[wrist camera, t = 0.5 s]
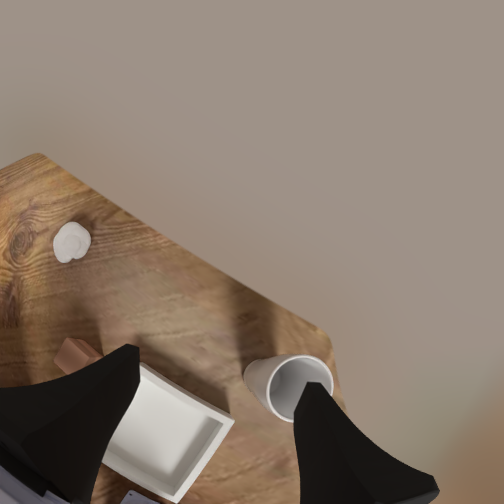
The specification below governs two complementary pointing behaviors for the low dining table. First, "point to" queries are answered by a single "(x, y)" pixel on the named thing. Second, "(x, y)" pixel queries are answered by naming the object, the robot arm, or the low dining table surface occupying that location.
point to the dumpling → (71, 242)
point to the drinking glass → (285, 381)
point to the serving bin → (165, 436)
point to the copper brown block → (75, 355)
